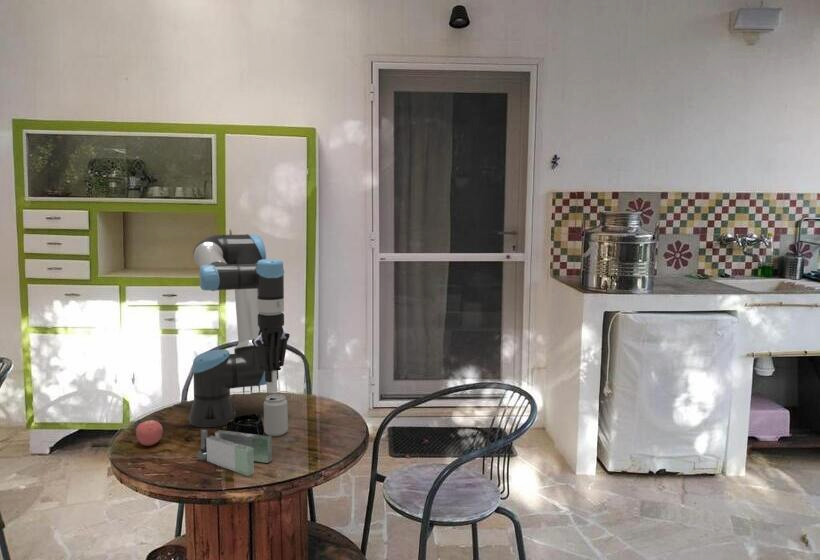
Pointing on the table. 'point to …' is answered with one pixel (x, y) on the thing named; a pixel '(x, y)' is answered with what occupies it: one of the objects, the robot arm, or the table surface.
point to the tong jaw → (250, 443)
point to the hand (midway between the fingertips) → (271, 391)
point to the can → (275, 415)
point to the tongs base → (226, 454)
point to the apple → (149, 432)
